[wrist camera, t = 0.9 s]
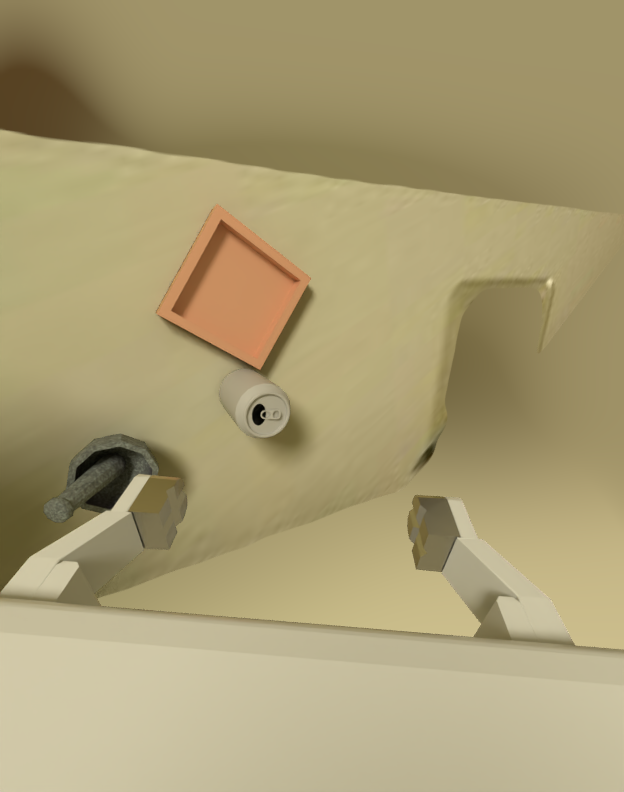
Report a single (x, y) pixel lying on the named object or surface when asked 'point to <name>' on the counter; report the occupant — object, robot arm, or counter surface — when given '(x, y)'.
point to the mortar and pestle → (101, 475)
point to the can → (255, 403)
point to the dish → (234, 290)
